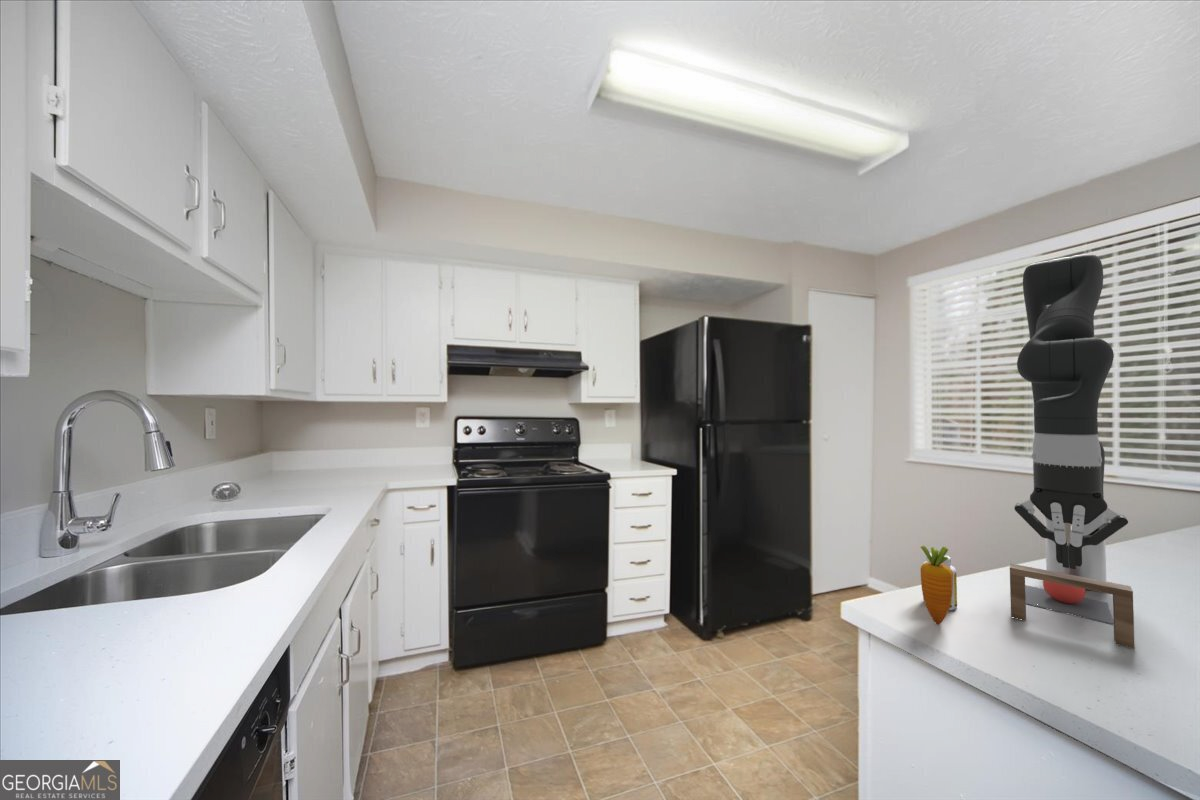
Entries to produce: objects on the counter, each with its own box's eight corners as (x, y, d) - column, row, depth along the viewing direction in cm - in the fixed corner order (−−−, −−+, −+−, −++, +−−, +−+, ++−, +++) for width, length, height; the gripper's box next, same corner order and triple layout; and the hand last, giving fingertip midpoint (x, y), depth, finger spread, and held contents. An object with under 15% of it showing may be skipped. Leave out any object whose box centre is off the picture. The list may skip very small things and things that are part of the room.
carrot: (915, 620, 82) (913, 543, 82) (932, 615, 83) (930, 539, 84) (943, 633, 77) (941, 551, 77) (961, 628, 79) (959, 547, 79)
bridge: (1011, 612, 84) (1010, 563, 84) (1132, 641, 73) (1130, 585, 74) (1010, 617, 82) (1009, 567, 82) (1134, 648, 71) (1132, 591, 71)
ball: (1042, 565, 90) (1043, 594, 87) (1085, 573, 85) (1087, 604, 83) (1042, 572, 93) (1043, 601, 91) (1083, 580, 89) (1085, 610, 87)
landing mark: (1025, 585, 96) (1025, 585, 96) (1107, 603, 87) (1107, 602, 87) (1023, 603, 88) (1023, 602, 88) (1114, 624, 79) (1114, 623, 79)
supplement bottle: (940, 598, 91) (938, 550, 91) (964, 610, 85) (963, 559, 85) (916, 599, 90) (915, 551, 90) (939, 612, 85) (938, 561, 85)
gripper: (1126, 462, 67) (1130, 571, 67) (1010, 455, 77) (1013, 551, 76) (1133, 467, 62) (1137, 586, 62) (1008, 460, 71) (1011, 562, 71)
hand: (1068, 566), depth 69 cm, fingers closed
